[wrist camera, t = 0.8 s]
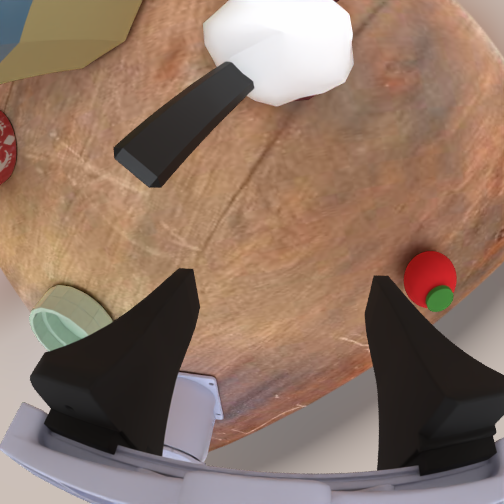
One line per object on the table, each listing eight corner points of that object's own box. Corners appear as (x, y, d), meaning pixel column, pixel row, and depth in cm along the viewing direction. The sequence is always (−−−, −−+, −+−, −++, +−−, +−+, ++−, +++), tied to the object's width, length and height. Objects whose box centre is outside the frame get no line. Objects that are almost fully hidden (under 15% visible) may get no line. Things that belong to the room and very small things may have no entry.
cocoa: (330, -21, 12) (378, -125, 2) (374, 71, 15) (488, 87, 5) (181, 39, 15) (43, 25, 5) (226, 126, 18) (141, 211, 8)
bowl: (129, 351, 32) (115, 379, 28) (67, 338, 33) (51, 362, 29) (103, 286, 27) (82, 315, 23) (37, 278, 28) (16, 302, 24)
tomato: (436, 284, 22) (454, 321, 19) (392, 284, 23) (406, 323, 19) (451, 241, 20) (474, 276, 17) (404, 239, 21) (422, 275, 17)
